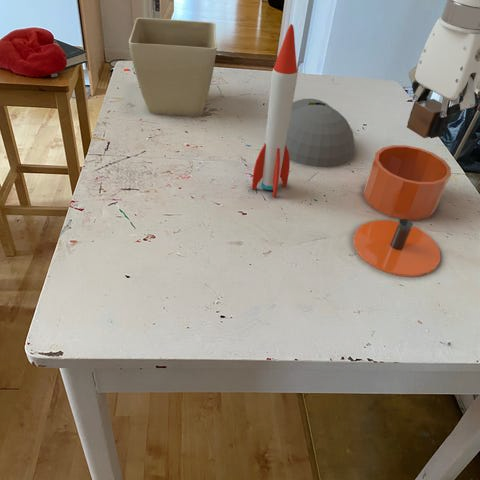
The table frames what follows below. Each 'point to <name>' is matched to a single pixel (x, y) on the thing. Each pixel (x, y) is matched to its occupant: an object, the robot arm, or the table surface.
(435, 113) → the block
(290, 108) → the toy rocket
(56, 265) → the table surface
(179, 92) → the flower pot
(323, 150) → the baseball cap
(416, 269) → the lid
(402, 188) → the pot
